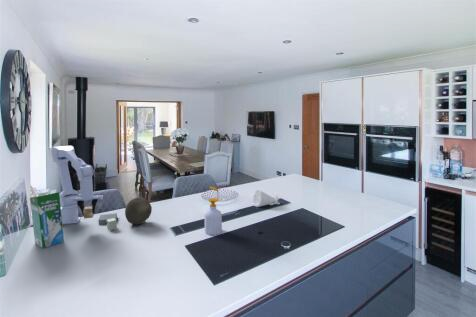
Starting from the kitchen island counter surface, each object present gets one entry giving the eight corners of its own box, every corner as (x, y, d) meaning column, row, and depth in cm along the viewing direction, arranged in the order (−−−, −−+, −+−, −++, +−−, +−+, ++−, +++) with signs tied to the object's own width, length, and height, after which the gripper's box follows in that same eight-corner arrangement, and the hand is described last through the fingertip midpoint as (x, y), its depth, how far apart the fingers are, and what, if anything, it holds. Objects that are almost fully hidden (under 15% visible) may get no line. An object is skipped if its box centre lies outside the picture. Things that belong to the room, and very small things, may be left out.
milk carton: (55, 236, 138) (50, 189, 134) (64, 241, 133) (59, 191, 129) (34, 243, 131) (29, 193, 127) (42, 248, 126) (37, 196, 122)
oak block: (83, 218, 142) (83, 209, 142) (85, 215, 146) (84, 207, 145) (92, 217, 144) (91, 208, 143) (93, 215, 147) (92, 206, 147)
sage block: (109, 230, 146) (108, 221, 145) (107, 228, 149) (106, 219, 148) (116, 228, 148) (116, 220, 148) (114, 226, 151) (114, 218, 151)
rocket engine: (281, 189, 193) (259, 186, 186) (285, 203, 185) (262, 200, 179) (274, 198, 201) (252, 196, 194) (277, 212, 193) (254, 210, 186)
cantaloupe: (127, 230, 146) (125, 203, 144) (124, 221, 158) (123, 196, 156) (154, 225, 152) (153, 200, 150) (149, 217, 165) (148, 193, 162)
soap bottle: (204, 228, 149) (204, 185, 145) (221, 228, 150) (221, 184, 146) (204, 235, 140) (203, 189, 136) (222, 235, 141) (221, 189, 137)
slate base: (98, 224, 154) (98, 220, 154) (100, 219, 162) (100, 215, 162) (116, 222, 157) (115, 218, 157) (117, 217, 165) (116, 213, 165)
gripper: (69, 192, 136) (71, 217, 139) (101, 189, 141) (102, 214, 143) (72, 188, 143) (74, 213, 145) (102, 186, 148) (104, 210, 150)
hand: (88, 213), depth 145 cm, fingers closed on oak block, 4 cm apart
